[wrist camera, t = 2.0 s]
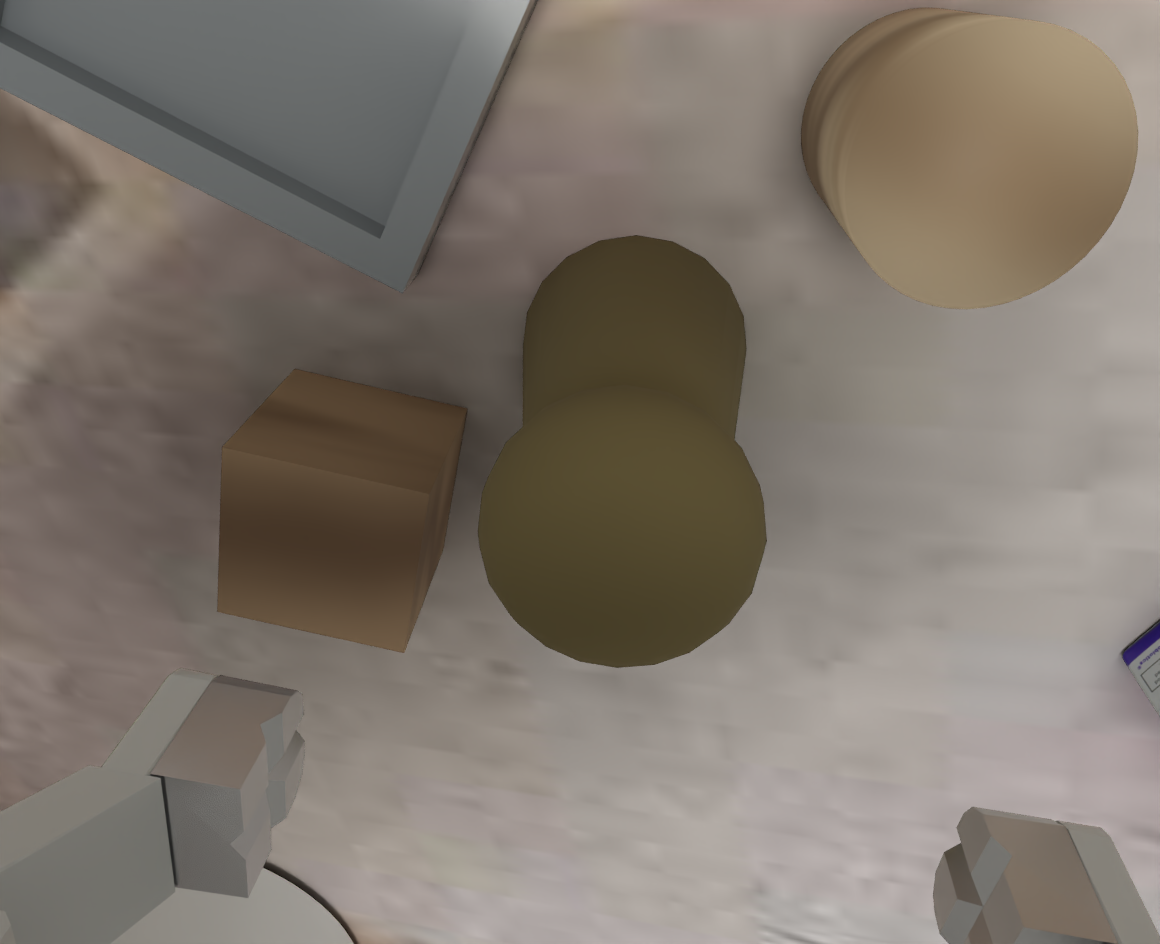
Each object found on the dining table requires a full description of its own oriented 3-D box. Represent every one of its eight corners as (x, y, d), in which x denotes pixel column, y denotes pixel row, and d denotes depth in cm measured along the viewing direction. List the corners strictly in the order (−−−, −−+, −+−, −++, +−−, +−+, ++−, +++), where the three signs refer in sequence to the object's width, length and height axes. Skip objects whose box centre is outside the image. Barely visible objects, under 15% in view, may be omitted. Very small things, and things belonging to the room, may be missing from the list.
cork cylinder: (928, 266, 23) (1007, 352, 18) (760, 170, 22) (791, 231, 17) (1067, 78, 21) (1203, 113, 16) (885, -37, 20) (964, -40, 15)
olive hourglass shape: (560, 203, 23) (489, 367, 14) (783, 278, 24) (867, 489, 14) (498, 409, 26) (403, 664, 16) (698, 472, 27) (720, 757, 17)
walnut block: (443, 549, 29) (404, 652, 24) (285, 513, 28) (217, 611, 24) (467, 407, 26) (429, 493, 22) (295, 367, 26) (222, 447, 22)
